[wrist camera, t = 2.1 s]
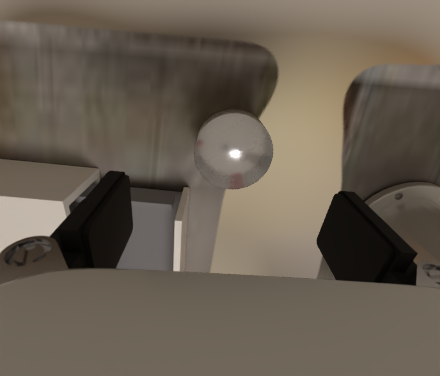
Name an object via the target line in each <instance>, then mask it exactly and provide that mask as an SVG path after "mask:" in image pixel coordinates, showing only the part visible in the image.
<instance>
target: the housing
mask: <svg viewBox="0 0 440 376" xmlns="http://www.w3.org/2000/svg"><path fill="white" fill-rule="evenodd" d="M100 181H101V180H100V173H99V168H88V167H78V166H68V165H58V164H48V163H37V162H27V161H17V160H7V159H0V253H1V251H2V250H4V249H5V248H6V247H7V246H9V245H11V244H12V243H14V242H16V241H18V240H21V239H24V238H27V237H32V236H50V235H51V234H52V233H53V232H54V231H55V230H56V229H57V227H58V226H59V225H60V224H61V223H62V222H63V221H64V220H65V219H66V217H67V216H68V215H69V214H70V210H69V205H70V204H71V203H72V202H73V201H74V200H75V199H76V198H77V197H78V196H79V195H80V194H81V193H82V192H84V191H85V190H86V189H87V188H88V187H89V186H90V185H91V184H98V183H99V182H100Z"/></svg>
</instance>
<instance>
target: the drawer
mask: <svg viewBox="0 0 440 376" xmlns="http://www.w3.org/2000/svg"><path fill="white" fill-rule="evenodd" d="M96 185H97V184H91V185H90V186H89V187H88V188H87V189H86V190H85V191H84V192H82V193H81V194H80V195H79V196H78V197H77V198H76V199H75V200H74V201H73V202H72V203H71V204H70V205H69V210H70V213H71V212H72V211H73V210H74V209H75V207H76V206H77V205H78V204H79V203H80V202H81V201H82V200H83V199H85V198H86V196H87V195H88V194H89V193H90V192H91V191H92V190H93V189H94V187H95V186H96ZM130 191H131V204H132V217H133V231H132V234H131V236H130V238H129V241H128V243H127V245H126V247H125V249H124V252H123V254H122V256H121V258H120V260H119V263H118V265H117V267H116V268H118V269H143V270H163V271H182V272H185V256H186V239H187V222H188V205H189V187H184V188H183V192H175V191H165V190H154V189H144V188H133V187H130Z"/></svg>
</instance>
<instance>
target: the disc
mask: <svg viewBox="0 0 440 376" xmlns="http://www.w3.org/2000/svg"><path fill="white" fill-rule="evenodd" d="M272 157H273V144H272V140H271V138H270V135H269V134H268V132H267V130H266V129H265V127H264V126H263V124H262V123H261V121H260V120H259V119H258V118H257V117H255V116H254V115H253V114H251V113H249V112H247V111H244V110H239V109H227V110H222V111H220V112H217V113H215V114H213V115H212V116H211V117H209V118H208V119H207V120H206V121H205V122H204V124H203V125H202V126H201V128H200V130H199V132H198V136H197V139H196V143H195V147H194V158H195V163H196V166H197V168H198V170H199V172H200V173H201V174H202V176H203V177H204V178H205V179H206V180H207V181H209V182H210V183H212V184H213V185H215V186H218V187H221V188H225V189H240V188H244V187H247V186H250V185H252V184H254V183H255V182H257V181H258V180H259V179H260V178H261V177H262V176H263V175H264V174H265V173H266V172H267V170H268V168H269V166H270V164H271V161H272Z"/></svg>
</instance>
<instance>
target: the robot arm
mask: <svg viewBox="0 0 440 376" xmlns="http://www.w3.org/2000/svg"><path fill="white" fill-rule="evenodd" d="M132 231H133V217H132V204H131V191H130V179H129V176H127V175H125V173H124V172H119V171H109V172H108V173H107V174H106V175H105V176H104V177H103V179H102V180H101V181H100V182H99V183H98V184H97V185H96V186H95V187H94V189H93V190H92V191H91V192H90V193H89V194H88V195H87V196H86V198H85V199H83V200H82V201H81V202H80V203H79V204H78V205H77V206H76V207H75V209H74V210H73V211H72V212H71V213H70V214H69V215H68V216H67V217H66V219H65V220H64V221H63V222H62V223H61V224H60V225H59V226H58V227H57V229H56V230H55V231H54V232H53V233H52V234H51V235H50V236H32V237H27V238H24V239H21V240H18V241H16V242H14V243H12V244H11V245H9V246H7V247H6V248H5V249H4V250H2V251H1V253H0V376H440V186H438V185H435V184H432V183H427V182H409V183H404V184H399V185H395V186H392V187H390V188H387V189H385V190H383V191H381V192H379V193H377V194H375V195H373V196H372V197H370V198H369V199H368V200H366V201H365V202H364V201H363V200H362V199H361V198H360V197H359V196H358V195H357V194H356V193H354V192H348V191H340V192H338V194H335V195H334V197H333V199H332V202H331V205H330V207H329V209H328V212H327V214H326V217H325V219H324V222H323V225H322V227H321V230H320V232H319V235H318V237H317V245H318V248H319V249H320V251H321V253H322V255H323V257H324V258H325V260H326V262H327V264H328V266H329V268H330V269H331V271H332V273H333V275H334V277H335V278H336V280H325V279H308V278H291V277H273V276H255V275H237V274H219V273H201V272H182V271H163V270H143V269H118V268H116V267H117V265H118V263H119V260H120V258H121V256H122V254H123V252H124V249H125V247H126V245H127V243H128V241H129V238H130V236H131V234H132Z"/></svg>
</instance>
